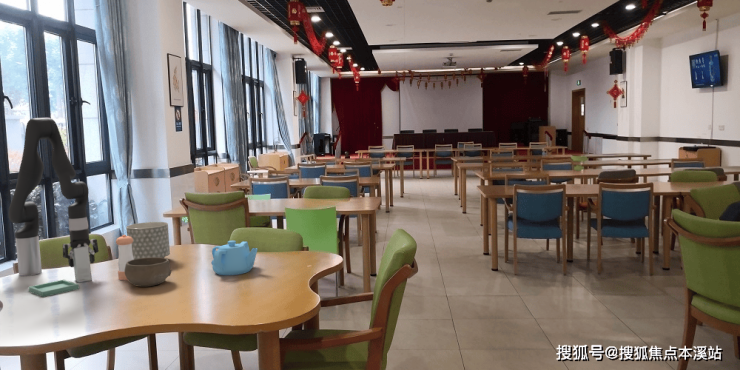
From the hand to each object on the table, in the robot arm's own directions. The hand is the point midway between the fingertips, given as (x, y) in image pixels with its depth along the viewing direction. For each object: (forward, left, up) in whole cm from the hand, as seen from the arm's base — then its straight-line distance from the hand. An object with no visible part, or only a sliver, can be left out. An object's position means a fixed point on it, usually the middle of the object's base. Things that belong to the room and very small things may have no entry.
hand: (82, 265), depth 265 cm
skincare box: (0, 0, -7) cm, 7 cm away
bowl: (+32, +13, -7) cm, 35 cm away
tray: (+7, -15, -7) cm, 18 cm away
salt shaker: (+14, +13, -7) cm, 20 cm away
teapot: (+45, +47, -7) cm, 65 cm away
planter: (-8, +36, -7) cm, 38 cm away
